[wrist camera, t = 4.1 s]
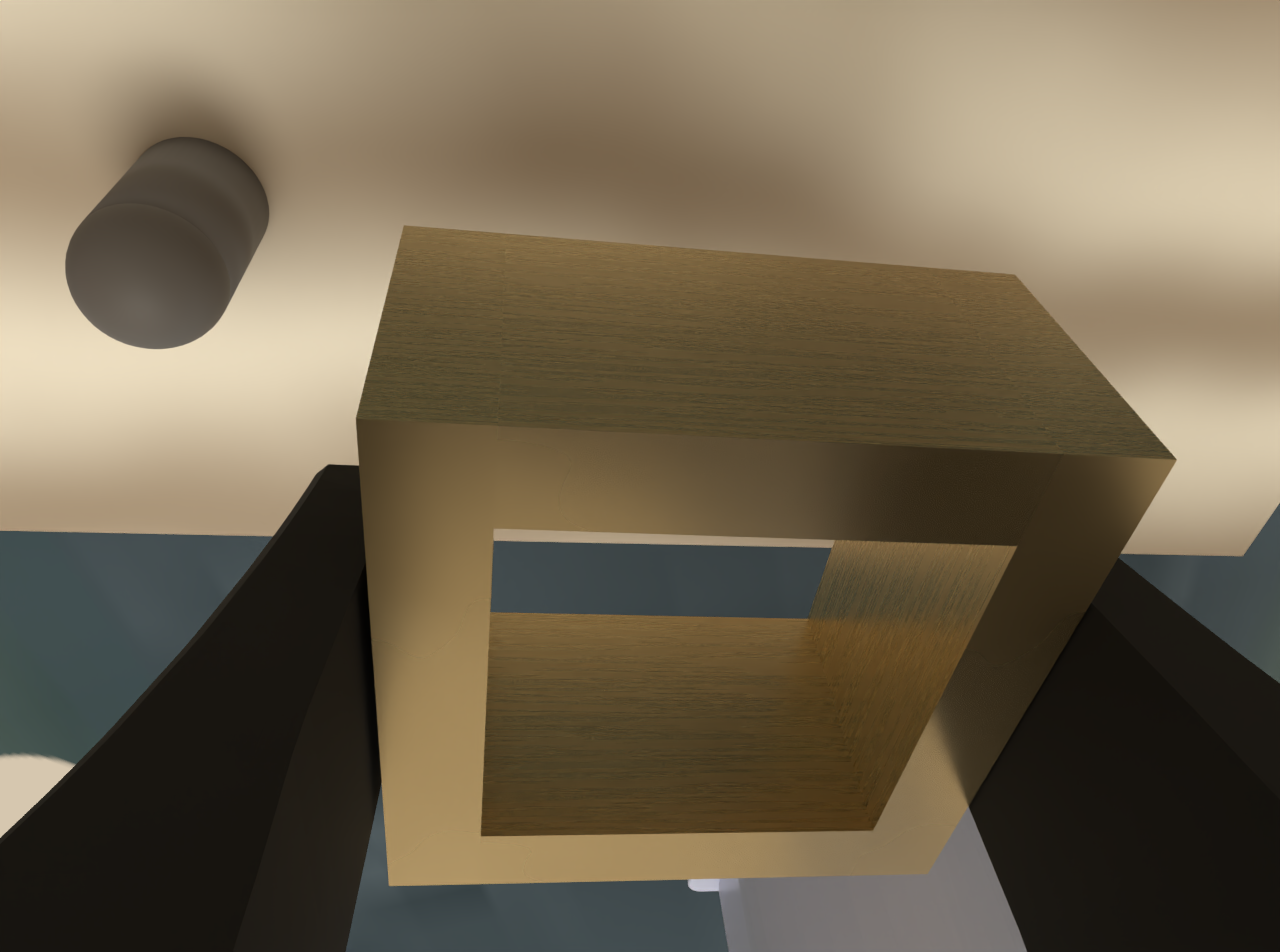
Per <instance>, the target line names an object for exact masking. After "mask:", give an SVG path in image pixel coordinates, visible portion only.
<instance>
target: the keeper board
mask: <svg viewBox="0 0 1280 952" xmlns="http://www.w3.org/2000/svg"><path fill="white" fill-rule="evenodd" d="M404 225H406V226H418V227H431V228H443V229H456V230H468V231H480V232H493V233H505V234H518V235H530V236H543V237H555V238H567V239H580V240H592V241H605V242H617V243H630V244H642V245H654V246H667V247H679V248H692V249H704V250H717V251H729V252H741V253H754V254H766V255H779V256H791V257H804V258H816V259H828V260H841V261H853V262H866V263H878V264H891V265H903V266H915V267H928V268H940V269H953V270H965V271H978V272H990V273H1002V274H1015V275H1016V276H1017V277H1018V278H1019V280H1020V281H1021V282H1022V283H1023V284H1024V285H1025V286H1026V288H1027V289H1028V290H1029V291H1030V292H1031V293H1032V294H1033V296H1034V297H1035V298H1036V299H1037V300H1038V301H1039V302H1040V304H1041V305H1042V306H1043V307H1044V308H1045V309H1046V310H1047V312H1048V313H1049V314H1050V315H1051V316H1052V317H1053V318H1054V320H1055V321H1056V322H1057V323H1058V324H1059V325H1060V326H1061V328H1062V329H1063V330H1064V331H1065V332H1066V333H1067V334H1068V336H1069V337H1070V338H1071V339H1072V340H1073V341H1074V342H1075V344H1076V345H1077V346H1078V347H1079V348H1080V349H1081V350H1082V352H1083V353H1084V354H1085V355H1086V356H1087V357H1088V358H1089V360H1090V361H1091V362H1092V363H1093V364H1094V365H1095V366H1096V368H1097V369H1098V370H1099V371H1100V372H1101V373H1102V374H1103V376H1104V377H1105V378H1106V379H1107V380H1108V381H1109V382H1110V384H1111V385H1112V386H1113V387H1114V388H1115V389H1116V390H1117V392H1118V393H1119V394H1120V395H1121V396H1122V397H1123V398H1124V400H1125V401H1126V402H1127V403H1128V404H1129V405H1130V406H1131V408H1132V409H1133V410H1134V411H1135V412H1136V413H1137V414H1138V416H1139V417H1140V418H1141V419H1142V420H1143V421H1144V422H1145V424H1146V425H1147V426H1148V427H1149V428H1150V429H1151V430H1152V432H1153V433H1154V434H1155V435H1156V436H1157V437H1158V438H1159V440H1160V441H1161V442H1162V443H1163V444H1164V445H1165V446H1166V448H1167V449H1168V450H1169V451H1170V452H1171V453H1172V454H1173V456H1174V457H1175V458H1176V459H1177V461H1176V463H1175V464H1174V466H1173V468H1172V469H1171V471H1170V473H1169V474H1168V476H1167V478H1166V479H1165V481H1164V483H1163V484H1162V486H1161V488H1160V489H1159V491H1158V493H1157V494H1156V496H1155V498H1154V499H1153V501H1152V502H1151V504H1150V506H1149V507H1148V509H1147V511H1146V512H1145V514H1144V516H1143V517H1142V519H1141V521H1140V522H1139V524H1138V526H1137V527H1136V529H1135V531H1134V532H1133V534H1132V536H1131V537H1130V539H1129V541H1128V542H1127V544H1126V546H1125V547H1124V549H1123V551H1122V552H1121V554H1162V555H1211V556H1243V555H1244V554H1245V552H1246V551H1247V549H1248V548H1249V546H1250V545H1251V543H1252V542H1253V541H1254V539H1255V538H1256V536H1257V535H1258V533H1259V532H1260V530H1261V529H1262V528H1263V526H1264V525H1265V523H1266V522H1267V520H1268V519H1269V517H1270V516H1271V515H1272V513H1273V512H1274V510H1275V509H1276V507H1277V506H1278V504H1279V503H1280V0H0V531H48V532H97V533H145V534H193V535H242V536H274V535H275V533H276V532H277V530H278V529H279V528H280V526H281V525H282V524H283V522H284V521H285V519H286V518H287V517H288V515H289V514H290V512H291V511H292V509H293V508H294V506H295V505H296V504H297V502H298V501H299V499H300V498H301V496H302V495H303V493H304V492H305V490H306V489H307V487H308V486H309V484H310V483H311V481H312V479H313V478H314V476H315V475H316V474H317V473H318V472H319V471H320V470H322V469H323V468H324V467H325V466H327V465H328V464H336V465H359V459H358V445H357V431H356V415H357V411H358V407H359V403H360V399H361V395H362V391H363V387H364V383H365V379H366V375H367V371H368V367H369V363H370V359H371V355H372V351H373V347H374V343H375V339H376V335H377V331H378V327H379V323H380V319H381V315H382V311H383V307H384V303H385V299H386V295H387V291H388V287H389V283H390V279H391V275H392V271H393V267H394V263H395V259H396V255H397V251H398V247H399V243H400V239H401V235H402V231H403V227H404ZM494 541H533V542H581V543H630V544H678V545H726V546H775V547H823V548H832V547H833V544H834V541H835V540H817V539H788V538H758V537H728V536H699V535H669V534H640V533H610V532H580V531H551V530H521V529H494Z"/></svg>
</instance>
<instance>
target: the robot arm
mask: <svg viewBox="0 0 1280 952" xmlns="http://www.w3.org/2000/svg"><path fill="white" fill-rule="evenodd" d="M381 782H382V779H381V765H380V751H379V737H378V724H377V710H376V696H375V682H374V668H373V654H372V640H371V626H370V612H369V598H368V584H367V570H366V556H365V542H364V528H363V514H362V501H361V487H360V473H359V465H336V464H328V465H327V466H325V467H324V468H323V469H322V470H320V471H319V472H318V473H317V474H316V475H315V476H314V478H313V479H312V481H311V483H310V484H309V486H308V487H307V489H306V490H305V492H304V493H303V495H302V496H301V498H300V499H299V501H298V502H297V504H296V505H295V506H294V508H293V509H292V511H291V512H290V514H289V515H288V517H287V518H286V519H285V521H284V522H283V524H282V525H281V526H280V528H279V529H278V530H277V532H276V533H275V535H274V536H273V537H272V539H271V540H270V541H269V543H268V544H267V545H266V547H265V548H264V549H263V551H262V552H261V553H260V555H259V556H258V557H257V559H256V560H255V561H254V563H253V564H252V565H251V567H250V568H249V569H248V570H247V572H246V573H245V574H244V576H243V577H242V578H241V579H240V580H239V582H238V583H237V584H236V585H235V587H234V588H233V589H232V590H231V592H230V593H229V594H228V595H227V596H226V598H225V599H224V600H223V601H222V603H221V604H220V605H219V606H218V608H217V609H216V610H215V611H214V612H213V614H212V615H211V616H210V617H209V619H208V620H207V621H206V622H205V624H204V625H203V626H202V627H201V629H200V630H199V631H198V632H197V633H196V635H195V636H194V637H193V638H192V639H191V640H190V642H189V643H188V644H187V645H186V646H185V647H184V649H183V650H182V651H181V652H180V653H179V654H178V655H177V657H176V658H175V659H174V660H173V661H172V662H171V663H170V664H169V665H168V666H167V668H166V669H165V670H164V671H163V672H162V673H161V674H160V675H159V676H158V678H157V679H156V680H155V681H154V682H153V683H152V684H151V685H150V686H149V687H148V689H147V690H146V691H145V692H144V693H143V694H142V695H141V696H140V697H139V698H138V700H137V701H136V702H135V703H134V704H133V705H132V706H131V707H130V708H129V709H128V711H127V712H126V713H125V714H124V715H123V716H122V717H121V718H120V719H119V720H118V722H117V723H116V724H115V725H114V726H113V727H112V728H111V729H110V730H109V731H108V732H107V733H106V734H105V735H104V737H103V738H102V739H101V740H100V741H99V742H98V743H97V744H96V745H95V746H94V747H93V748H92V749H91V750H90V751H89V752H88V753H87V754H86V755H85V756H84V757H83V758H82V759H81V760H80V761H79V762H78V763H77V764H76V765H75V766H74V767H73V768H72V769H71V770H70V771H69V772H68V773H67V774H66V775H65V776H64V777H63V778H62V779H61V780H60V781H59V782H58V783H57V784H56V785H55V786H54V787H53V788H52V789H51V790H50V791H49V792H48V793H47V794H46V795H45V796H44V797H43V798H42V799H41V800H40V801H39V802H38V803H37V804H36V805H34V806H33V807H32V808H31V809H30V810H29V811H28V812H27V813H26V814H25V815H24V816H23V817H22V818H21V819H20V820H19V821H18V822H17V823H16V824H15V825H14V826H12V827H11V828H10V829H9V830H8V831H7V832H6V833H5V834H4V835H3V836H2V837H1V838H0V952H345V951H346V946H347V942H348V937H349V932H350V928H351V923H352V918H353V914H354V909H355V904H356V899H357V895H358V890H359V885H360V881H361V876H362V871H363V867H364V862H365V857H366V852H367V848H368V843H369V838H370V834H371V829H372V824H373V820H374V815H375V810H376V805H377V801H378V796H379V791H380V786H381ZM687 881H688V886H689V887H690V888H691V889H692V890H695V891H719V895H720V901H721V908H722V914H723V920H724V926H725V932H726V938H727V944H728V950H729V952H1280V683H1278V682H1277V681H1276V680H1274V679H1273V678H1272V677H1270V676H1269V675H1268V674H1266V673H1265V672H1264V671H1262V670H1261V669H1260V668H1258V667H1257V666H1256V665H1254V664H1253V663H1252V662H1250V661H1249V660H1248V659H1246V658H1245V657H1244V656H1242V655H1241V654H1240V653H1238V652H1237V651H1236V650H1235V649H1233V648H1232V647H1231V646H1229V645H1228V644H1227V643H1225V642H1224V641H1223V640H1222V639H1220V638H1219V637H1218V636H1216V635H1215V634H1214V633H1213V632H1211V631H1210V630H1209V629H1207V628H1206V627H1205V626H1204V625H1202V624H1201V623H1200V622H1199V621H1197V620H1196V619H1195V618H1193V617H1192V616H1191V615H1190V614H1188V613H1187V612H1186V611H1185V610H1183V609H1182V608H1181V607H1179V606H1178V605H1177V604H1176V603H1174V602H1173V601H1172V600H1171V599H1169V598H1168V597H1167V596H1166V595H1164V594H1163V593H1162V592H1161V591H1159V590H1158V589H1157V588H1156V587H1154V586H1153V585H1152V584H1151V583H1149V582H1148V581H1147V580H1145V579H1144V578H1143V577H1142V576H1140V575H1139V574H1138V573H1137V572H1135V571H1134V570H1133V569H1132V568H1130V567H1129V566H1128V565H1127V564H1125V563H1124V562H1123V561H1122V560H1120V559H1119V558H1118V559H1117V561H1116V562H1115V564H1114V566H1113V567H1112V569H1111V571H1110V572H1109V574H1108V575H1107V577H1106V579H1105V580H1104V582H1103V584H1102V585H1101V587H1100V589H1099V590H1098V592H1097V594H1096V595H1095V597H1094V599H1093V600H1092V602H1091V604H1090V605H1089V607H1088V609H1087V610H1086V612H1085V614H1084V615H1083V617H1082V619H1081V620H1080V622H1079V624H1078V625H1077V627H1076V629H1075V630H1074V632H1073V634H1072V635H1071V637H1070V639H1069V640H1068V642H1067V644H1066V645H1065V647H1064V649H1063V650H1062V652H1061V653H1060V655H1059V657H1058V658H1057V660H1056V662H1055V663H1054V665H1053V667H1052V668H1051V670H1050V672H1049V673H1048V675H1047V677H1046V678H1045V680H1044V682H1043V683H1042V685H1041V687H1040V688H1039V690H1038V692H1037V693H1036V695H1035V697H1034V698H1033V700H1032V702H1031V703H1030V705H1029V707H1028V708H1027V710H1026V712H1025V713H1024V715H1023V717H1022V718H1021V720H1020V722H1019V723H1018V725H1017V726H1016V728H1015V730H1014V731H1013V733H1012V735H1011V736H1010V738H1009V740H1008V741H1007V743H1006V745H1005V746H1004V748H1003V750H1002V751H1001V753H1000V755H999V756H998V758H997V760H996V761H995V763H994V765H993V766H992V768H991V770H990V771H989V773H988V775H987V776H986V778H985V780H984V781H983V783H982V785H981V786H980V788H979V790H978V791H977V793H976V795H975V796H974V798H973V799H972V801H971V803H970V804H969V806H968V808H967V809H966V811H965V813H964V814H963V816H962V818H961V819H960V821H959V823H958V824H957V826H956V828H955V829H954V831H953V833H952V834H951V836H950V838H949V839H948V841H947V843H946V844H945V846H944V848H943V849H942V851H941V853H940V854H939V856H938V858H937V859H936V861H935V863H934V864H933V866H932V868H931V869H930V871H929V872H928V874H908V875H863V876H818V877H773V878H728V879H687Z"/></svg>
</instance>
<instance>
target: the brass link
mask: <svg viewBox="0 0 1280 952" xmlns="http://www.w3.org/2000/svg"><path fill="white" fill-rule="evenodd" d="M356 431H357V445H358V459H359V473H360V487H361V501H362V514H363V528H364V542H365V556H366V570H367V584H368V598H369V612H370V626H371V640H372V654H373V668H374V682H375V696H376V710H377V724H378V737H379V751H380V765H381V779H382V793H383V807H384V821H385V835H386V849H387V863H388V877H389V886H414V885H458V884H503V883H548V882H593V881H638V880H683V879H728V878H773V877H818V876H863V875H908V874H928V872H929V871H930V869H931V868H932V866H933V864H934V863H935V861H936V859H937V858H938V856H939V854H940V853H941V851H942V849H943V848H944V846H945V844H946V843H947V841H948V839H949V838H950V836H951V834H952V833H953V831H954V829H955V828H956V826H957V824H958V823H959V821H960V819H961V818H962V816H963V814H964V813H965V811H966V809H967V808H968V806H969V804H970V803H971V801H972V799H973V798H974V796H975V795H976V793H977V791H978V790H979V788H980V786H981V785H982V783H983V781H984V780H985V778H986V776H987V775H988V773H989V771H990V770H991V768H992V766H993V765H994V763H995V761H996V760H997V758H998V756H999V755H1000V753H1001V751H1002V750H1003V748H1004V746H1005V745H1006V743H1007V741H1008V740H1009V738H1010V736H1011V735H1012V733H1013V731H1014V730H1015V728H1016V726H1017V725H1018V723H1019V722H1020V720H1021V718H1022V717H1023V715H1024V713H1025V712H1026V710H1027V708H1028V707H1029V705H1030V703H1031V702H1032V700H1033V698H1034V697H1035V695H1036V693H1037V692H1038V690H1039V688H1040V687H1041V685H1042V683H1043V682H1044V680H1045V678H1046V677H1047V675H1048V673H1049V672H1050V670H1051V668H1052V667H1053V665H1054V663H1055V662H1056V660H1057V658H1058V657H1059V655H1060V653H1061V652H1062V650H1063V649H1064V647H1065V645H1066V644H1067V642H1068V640H1069V639H1070V637H1071V635H1072V634H1073V632H1074V630H1075V629H1076V627H1077V625H1078V624H1079V622H1080V620H1081V619H1082V617H1083V615H1084V614H1085V612H1086V610H1087V609H1088V607H1089V605H1090V604H1091V602H1092V600H1093V599H1094V597H1095V595H1096V594H1097V592H1098V590H1099V589H1100V587H1101V585H1102V584H1103V582H1104V580H1105V579H1106V577H1107V575H1108V574H1109V572H1110V571H1111V569H1112V567H1113V566H1114V564H1115V562H1116V561H1117V559H1118V557H1119V556H1120V554H1121V552H1122V551H1123V549H1124V547H1125V546H1126V544H1127V542H1128V541H1129V539H1130V537H1131V536H1132V534H1133V532H1134V531H1135V529H1136V527H1137V526H1138V524H1139V522H1140V521H1141V519H1142V517H1143V516H1144V514H1145V512H1146V511H1147V509H1148V507H1149V506H1150V504H1151V502H1152V501H1153V499H1154V498H1155V496H1156V494H1157V493H1158V491H1159V489H1160V488H1161V486H1162V484H1163V483H1164V481H1165V479H1166V478H1167V476H1168V474H1169V473H1170V471H1171V469H1172V468H1173V466H1174V464H1175V463H1176V461H1177V459H1176V458H1175V457H1174V456H1173V454H1172V453H1171V452H1170V451H1169V450H1168V449H1167V448H1166V446H1165V445H1164V444H1163V443H1162V442H1161V441H1160V440H1159V438H1158V437H1157V436H1156V435H1155V434H1154V433H1153V432H1152V430H1151V429H1150V428H1149V427H1148V426H1147V425H1146V424H1145V422H1144V421H1143V420H1142V419H1141V418H1140V417H1139V416H1138V414H1137V413H1136V412H1135V411H1134V410H1133V409H1132V408H1131V406H1130V405H1129V404H1128V403H1127V402H1126V401H1125V400H1124V398H1123V397H1122V396H1121V395H1120V394H1119V393H1118V392H1117V390H1116V389H1115V388H1114V387H1113V386H1112V385H1111V384H1110V382H1109V381H1108V380H1107V379H1106V378H1105V377H1104V376H1103V374H1102V373H1101V372H1100V371H1099V370H1098V369H1097V368H1096V366H1095V365H1094V364H1093V363H1092V362H1091V361H1090V360H1089V358H1088V357H1087V356H1086V355H1085V354H1084V353H1083V352H1082V350H1081V349H1080V348H1079V347H1078V346H1077V345H1076V344H1075V342H1074V341H1073V340H1072V339H1071V338H1070V337H1069V336H1068V334H1067V333H1066V332H1065V331H1064V330H1063V329H1062V328H1061V326H1060V325H1059V324H1058V323H1057V322H1056V321H1055V320H1054V318H1053V317H1052V316H1051V315H1050V314H1049V313H1048V312H1047V310H1046V309H1045V308H1044V307H1043V306H1042V305H1041V304H1040V302H1039V301H1038V300H1037V299H1036V298H1035V297H1034V296H1033V294H1032V293H1031V292H1030V291H1029V290H1028V289H1027V288H1026V286H1025V285H1024V284H1023V283H1022V282H1021V281H1020V280H1019V278H1018V277H1017V276H1016V275H1015V274H1002V273H990V272H978V271H965V270H953V269H940V268H928V267H915V266H903V265H891V264H878V263H866V262H853V261H841V260H828V259H816V258H804V257H791V256H779V255H766V254H754V253H741V252H729V251H717V250H704V249H692V248H679V247H667V246H654V245H642V244H630V243H617V242H605V241H592V240H580V239H567V238H555V237H543V236H530V235H518V234H505V233H493V232H480V231H468V230H456V229H443V228H431V227H418V226H406V225H404V227H403V231H402V235H401V239H400V243H399V247H398V251H397V255H396V259H395V263H394V267H393V271H392V275H391V279H390V283H389V287H388V291H387V295H386V299H385V303H384V307H383V311H382V315H381V319H380V323H379V327H378V331H377V335H376V339H375V343H374V347H373V351H372V355H371V359H370V363H369V367H368V371H367V375H366V379H365V383H364V387H363V391H362V395H361V399H360V403H359V407H358V411H357V415H356ZM494 529H521V530H551V531H580V532H610V533H640V534H669V535H699V536H728V537H758V538H788V539H817V540H835V541H834V544H833V547H832V550H831V552H830V555H829V558H828V561H827V564H826V567H825V570H824V573H823V576H822V579H821V582H820V585H819V587H818V590H817V593H816V596H815V599H814V602H813V605H812V608H811V611H810V614H809V617H808V619H786V618H737V617H688V616H640V615H591V614H542V613H494V612H491V590H492V566H493V542H494Z"/></svg>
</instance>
